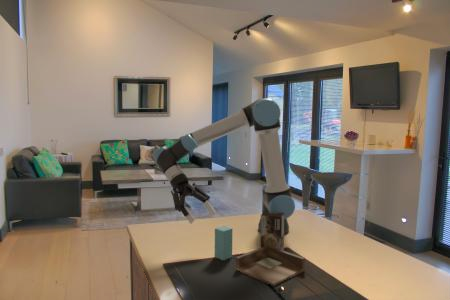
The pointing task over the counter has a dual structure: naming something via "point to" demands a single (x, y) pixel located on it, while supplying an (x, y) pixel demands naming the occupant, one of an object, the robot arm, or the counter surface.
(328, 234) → the counter surface
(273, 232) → the coffee box
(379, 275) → the counter surface
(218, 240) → the teal block
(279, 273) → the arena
